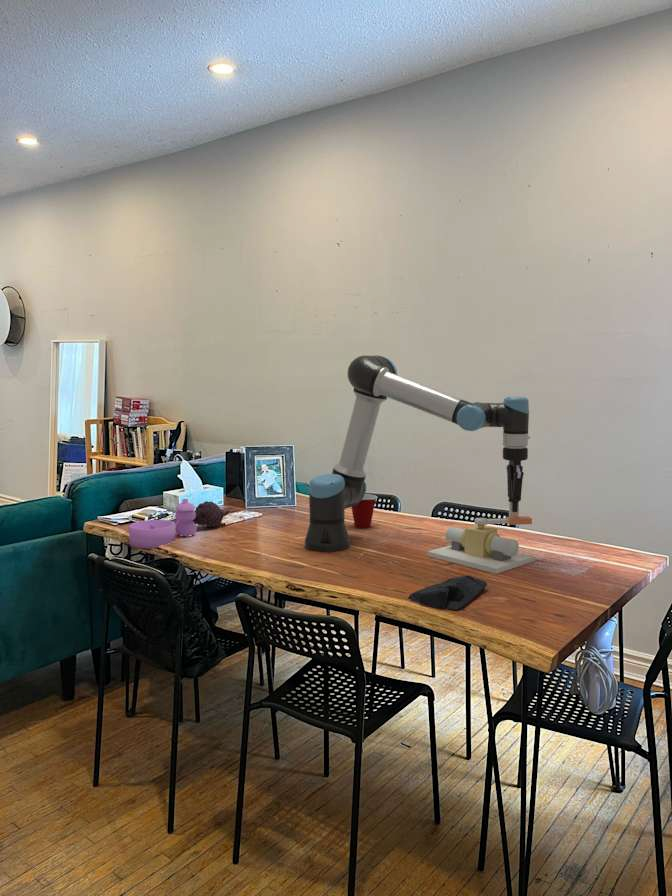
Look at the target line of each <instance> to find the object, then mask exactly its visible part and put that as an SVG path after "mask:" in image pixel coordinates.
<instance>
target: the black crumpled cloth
mask: <svg viewBox="0 0 672 896" xmlns="http://www.w3.org/2000/svg"><path fill="white" fill-rule="evenodd" d="M487 585H488V582H486V581H485V580H483V579H479V578H476V577H475V576H471V575H463V576H458V577H450V578H448V579H446V580H445V581H442V582H441V583H437V584H432V585H430V586H425V587H424V588H421V589H418V590H417V591H414V592H412V593H411V594H409V595H408V598H407V599H409V601H410V602H414V603H417V604H421V605H424V606H426V607H431V608H435V609H439V610H442V609H443V610H448V611H450V610H453V611H460V610H461V609H462V608H463V607H464V606H466V605H468V604H469V603H471V602H472V601H473V600H474V599H475V597H477V596H478V595H479V594H481V592H482V591H483V590H484V589H485V588H486V587H487Z"/></svg>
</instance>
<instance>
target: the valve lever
mask: <svg viewBox="0 0 672 896" xmlns="http://www.w3.org/2000/svg"><path fill="white" fill-rule="evenodd" d="M474 524H475V526H477V525H485V526H487V525H490V524H492V525H494V524H507V525H511V526H513V525H514V526H517V525H533V518H532V517H530V516H528V515H527V516H526V515H525V516H519V517H509V516H506V518H505V517H504V518H486V517H476V518H475V517H474Z"/></svg>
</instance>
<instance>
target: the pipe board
mask: <svg viewBox="0 0 672 896" xmlns="http://www.w3.org/2000/svg"><path fill="white" fill-rule="evenodd" d="M445 540H446V542H447V543H450V544H451V545H447V546H443V547H439V548H436V549H431V550H428V551H427V557H430V558H433V559H437V560H441V561H445V562H449V563H452V564H453V563H454V564H457V565H461V566H465V567H468V568H472V569H477V570H480V571H484V572H487V573H490V574H491V573H492V574H499V573H503V572H506V571H509V570H512V569H514V568H518V567H521V566H524V565H527V564H530V563H533V562H536V555H531V554H527V553H524V552H519V547H520V546H519V541H518V540H517V539H512V538H507V537H503V536H501V535H500V534H499V533H498V528H495V527H491V526H487V525H473V526H469V527H465V528H459V527H453V526H449V527H448V528H447V530H446V532H445Z"/></svg>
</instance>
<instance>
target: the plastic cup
mask: <svg viewBox="0 0 672 896" xmlns="http://www.w3.org/2000/svg"><path fill="white" fill-rule="evenodd" d="M377 499H378V496H377V495H374V494H369V493H365V496H364V498H363V499H362V500H361V501H360V502H359V503H358V504H356V505H354V506H352V507H351V511H352V517H353V523H354V527H355V528H357V529H358V528H359V529H366V528H367V527H368V528H371V525H372V519H373V514H374V510H375V503H376V501H377Z"/></svg>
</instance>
